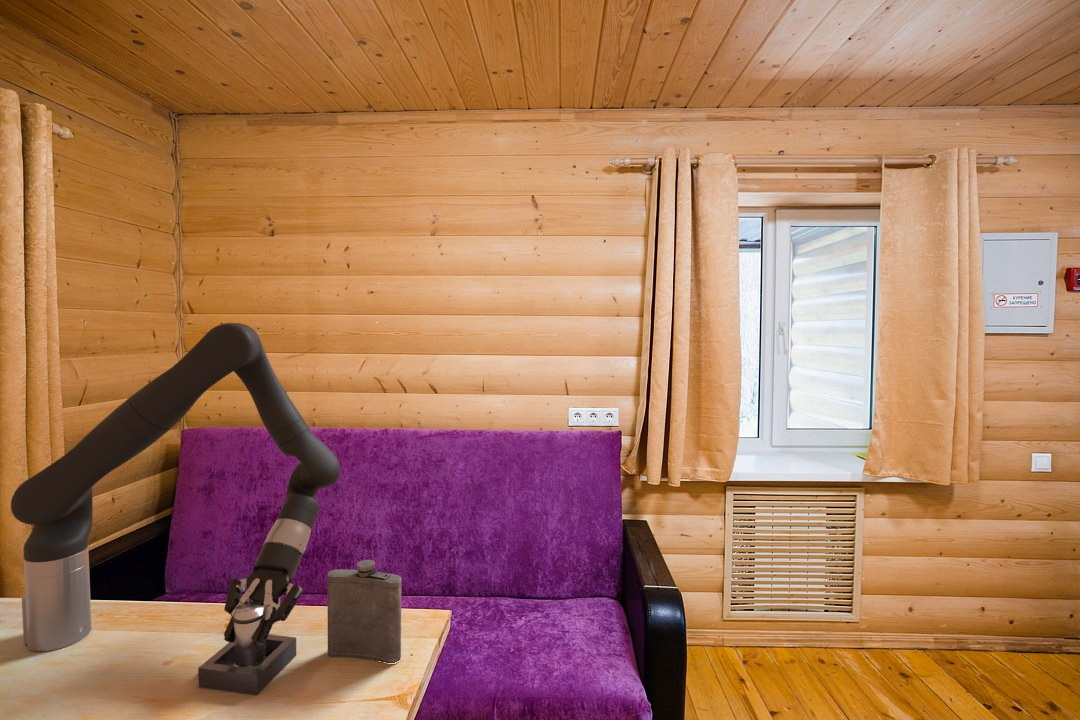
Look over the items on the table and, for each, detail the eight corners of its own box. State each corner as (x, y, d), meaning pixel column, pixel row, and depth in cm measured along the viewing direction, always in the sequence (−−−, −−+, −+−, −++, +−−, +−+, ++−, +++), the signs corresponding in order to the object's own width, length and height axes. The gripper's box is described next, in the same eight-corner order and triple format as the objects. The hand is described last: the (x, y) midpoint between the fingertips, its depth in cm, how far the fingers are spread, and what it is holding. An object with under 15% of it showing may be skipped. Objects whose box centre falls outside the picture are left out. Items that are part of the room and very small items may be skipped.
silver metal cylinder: (227, 666, 94) (225, 614, 93) (247, 648, 99) (246, 599, 98) (253, 669, 93) (252, 617, 92) (272, 651, 98) (271, 601, 97)
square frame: (198, 687, 91) (198, 667, 91) (243, 648, 102) (243, 631, 102) (257, 695, 90) (257, 675, 90) (296, 655, 101) (296, 637, 100)
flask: (334, 645, 104) (334, 555, 103) (404, 653, 102) (405, 562, 101) (324, 656, 100) (324, 564, 99) (397, 665, 98) (397, 571, 97)
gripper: (241, 537, 103) (193, 633, 92) (310, 543, 101) (269, 642, 90) (259, 551, 109) (217, 644, 98) (325, 558, 106) (289, 653, 96)
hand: (242, 642), depth 94 cm, fingers closed on silver metal cylinder, 4 cm apart
